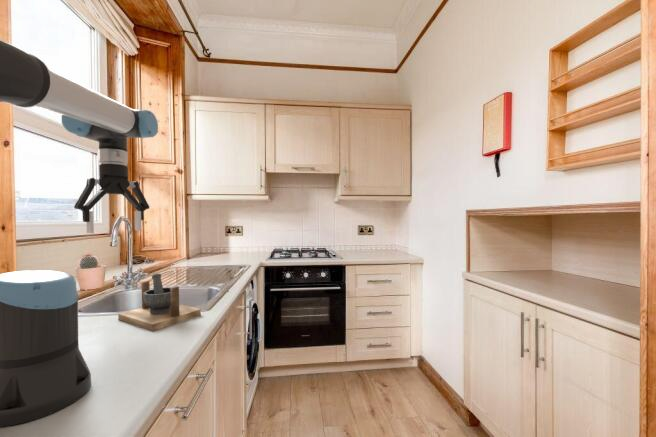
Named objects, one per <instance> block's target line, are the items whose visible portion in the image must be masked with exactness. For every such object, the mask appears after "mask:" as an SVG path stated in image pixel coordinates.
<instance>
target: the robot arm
mask: <svg viewBox="0 0 656 437" xmlns="http://www.w3.org/2000/svg"><path fill="white" fill-rule="evenodd" d="M0 103H5V104H10V105H13V106H16V107H20V108H33V107H37V108H41V109H43V110H47V111H49V112H52V113H56V114H59V115H61V124H62V127H63V128H64V129H65V130H66V131H67V132H69V133H71V134H73V135H76V136H78V137H79V138H80V137H81V138H85V139H89V140H92V141H95V142H98V163H99V166H98V175H99V177H98V178H99V179H96V178H95V177H90V178H87V179H86V186H85V187H84V189H83V191H82V193H81V194H80V196H79V198H77V201H76V203H75V204H74V205H73V206H74V209H76V210H79V211H82V221H83V223H86V234H94V233H95V231H94V229H95V228H94V227H95V226H94V225H95V224H94V211H93V210H92V208H94V207H95V205H96V204H97V203H98V202H99V201H100V200H102V198H103V197H104V196H105V195H106V194H107V195H122V196H123V197H124V198H125V199H126V200H127V201H128V202H129V203H130V204H131V206H133V208H135V209H136V210H135V211H134V215H133V216H134V231H138V232H139V231H142V221H144V219H145V218H144V212H145V211H146V210H149V209H150V205H149V203H148V200H146V198H145V196H144V194H143V192H142V190H141V188H140V183H139V181H138V180H137V181H130V180H129V167H128V166H127V165H128V162H129V159H128V156H129V154H128V153H129V152H128V139H135V138H136V139H145V138H146V139H147V138H153V137H156V136H157V134H158V132H159V124H158V119H157V117H156V115H155V113H154V112H152V111H151V110H148V109H141V108H140V109H133V108H131V107H128V106H127V105H125V104H122V103H120V102H118V101H116V100H114V99H112V98H110V97H108V96H106V95H103V94H102V93H99V92H98V91H95V90H94V89H92V88H89V87H88V86H84V85H83V84H81V83H79V82H77V81H74V80H73V79H70V78H68V77H66V76H64V75H62V74H60V73H58V72H56V71H54V70H52V69H50V68H48V66H47V64H46V62H44V61H43V60H42V59H41V58H39V57H38V56H36V55H33V53H30V52H28V51H26V50H23V48H22V49H21V48H20V47H17V46H15V45H13V44H10V43H9V42H6V41H5V40H3V39H0ZM97 185H98V186H99V187H100V189H99V190H98V191H97V192H96V193H95V194H94V195H93V196H92V197H91V198H90V199H89V197H90V195H91V194H92V192H93V190H94V189H95V187H97ZM129 187H130V188H131V190H132V192H133V193H134V196H135V197H136V198H135V197H134V196H133V195H132V193H131V191H130V190H129V189H128V188H129ZM88 199H89V200H88ZM90 210H91V211H90ZM77 289H78V288H77V281H76V279H75V277H74V276H72V275H71V274H69V273H67V272H63V271H60V270H59V271H57V270H46V269H45V270H43V269H38V270H18V271H17V270H16V271H10V272H3V273H0V427H8V426H9V427H10V426H14V425H19V424H23V423H27V422H30V421H31V422H32V421H33V420H37V419H41V418H43V417H45V416H49V415H51V414H53V413H56V412H58V411H60V410H62V409H64V408H66V407H67V406H70V405H72V404H73V403H75V402H76V401H78V400H80V399H81V398H83V396H84V395H85V394H86V393H88V391H89V390H90V389H91V386H92V376H91V375H92V374H91V370H90V369H89V367H88V364H87V363H86V361H85V358H84V356H83V354H82V352H81V350H80V347H79V346H80V345H79V303H78V302H79V292H78V290H77Z"/></svg>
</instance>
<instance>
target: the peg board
mask: <svg viewBox="0 0 656 437" xmlns="http://www.w3.org/2000/svg"><path fill="white" fill-rule="evenodd" d="M140 282H141V307H138V308H135V309H130V310H127V311H123V312H119V313H117V314H118V315H117V317H118V321H121V322H124V323H127V324H129V325H133V326H137V327H139V328H142V329H144V330H148V331H151V332H155V331H157V330H161V329H163V328H167V327H169V326H173V325H176V324H179V323H181V322H184V321H188V320H191V319H194V318H196V317H199V316H201V313H202V311H201V309H200V308H197V307H194V306H193V307H192V306H189V305H185V304H180V287H179V286H178V285H177V286H175V285H174V286H171V287H169V288H170V291H171V311H170V312H169V313H165V314H161V315H151V314H150V308H149V307H148V306H147V305H146V304H145V302H144V299H143V293H144V292H146V291H148V290H151V289H150V280H143V281H140Z"/></svg>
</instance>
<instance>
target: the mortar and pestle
mask: <svg viewBox="0 0 656 437" xmlns="http://www.w3.org/2000/svg"><path fill="white" fill-rule="evenodd" d="M151 278H152V284H153V289H152V288H151V289H150V290H148V291H146V292H144V293H143V299H144V302H145V304H146V305H147V306H148V307H149V308H150V314H151V315H161V314H165V313H169V312H170V311H171V291H170V288H171V287H163V281H162V274H161V273H154V274H152V276H151Z"/></svg>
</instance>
